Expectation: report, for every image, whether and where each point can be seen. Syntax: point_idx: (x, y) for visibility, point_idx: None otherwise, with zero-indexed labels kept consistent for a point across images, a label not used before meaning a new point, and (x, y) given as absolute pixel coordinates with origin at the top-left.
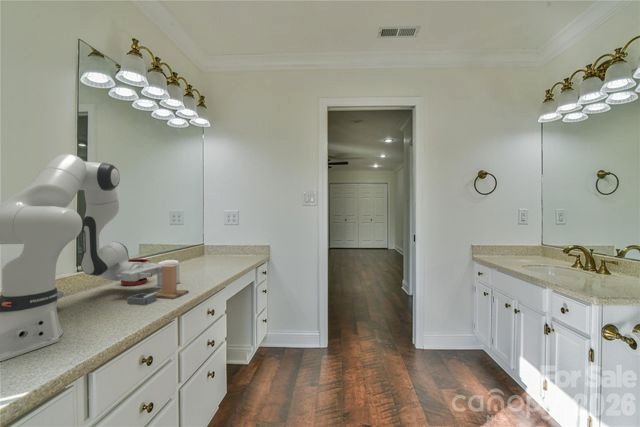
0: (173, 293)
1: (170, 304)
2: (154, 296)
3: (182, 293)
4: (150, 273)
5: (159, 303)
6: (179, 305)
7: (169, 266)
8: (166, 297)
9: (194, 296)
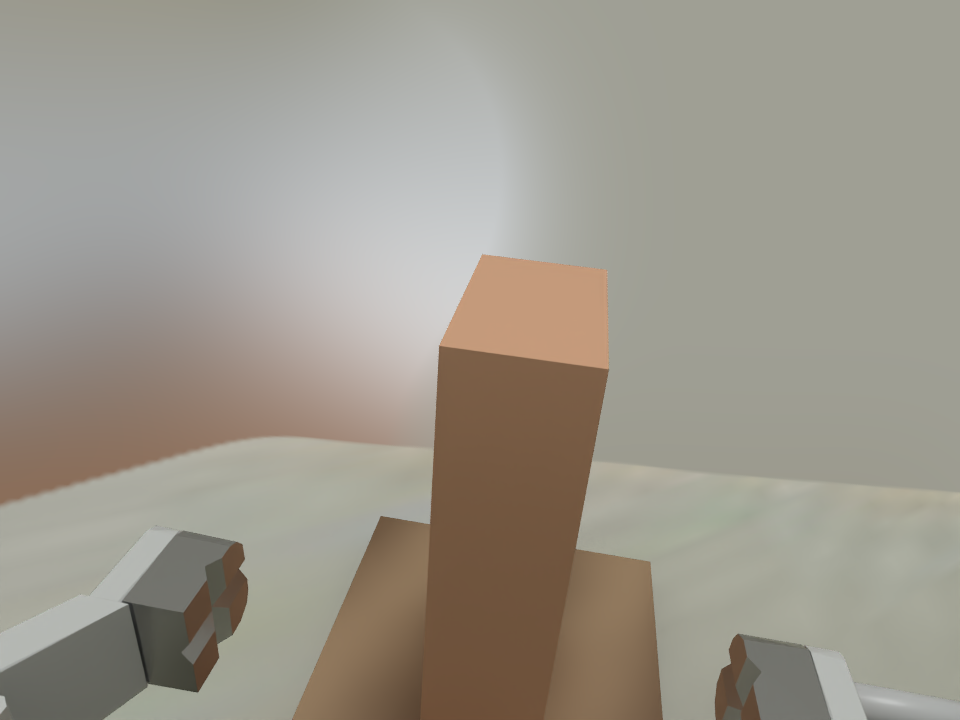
0: None
1: (800, 546)
2: None
3: None
4: (797, 648)
5: None
6: (785, 481)
7: (589, 290)
8: (652, 652)
9: None
